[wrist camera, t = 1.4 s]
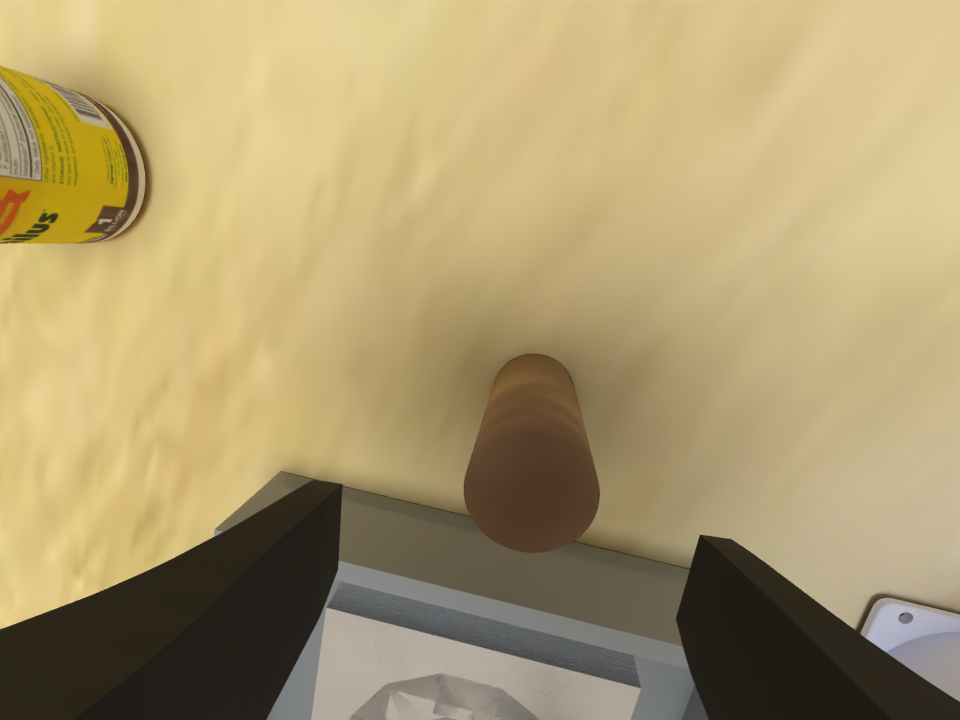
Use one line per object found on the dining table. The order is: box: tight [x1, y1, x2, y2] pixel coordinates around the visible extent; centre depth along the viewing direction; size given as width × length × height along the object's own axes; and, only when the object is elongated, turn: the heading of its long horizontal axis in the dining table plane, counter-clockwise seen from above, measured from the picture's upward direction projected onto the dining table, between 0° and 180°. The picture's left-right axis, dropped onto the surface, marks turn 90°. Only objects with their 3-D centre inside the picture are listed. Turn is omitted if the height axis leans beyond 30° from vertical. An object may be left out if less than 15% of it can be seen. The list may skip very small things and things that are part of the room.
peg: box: [464, 354, 600, 553], centre depth 15 cm, size 3×3×8 cm
